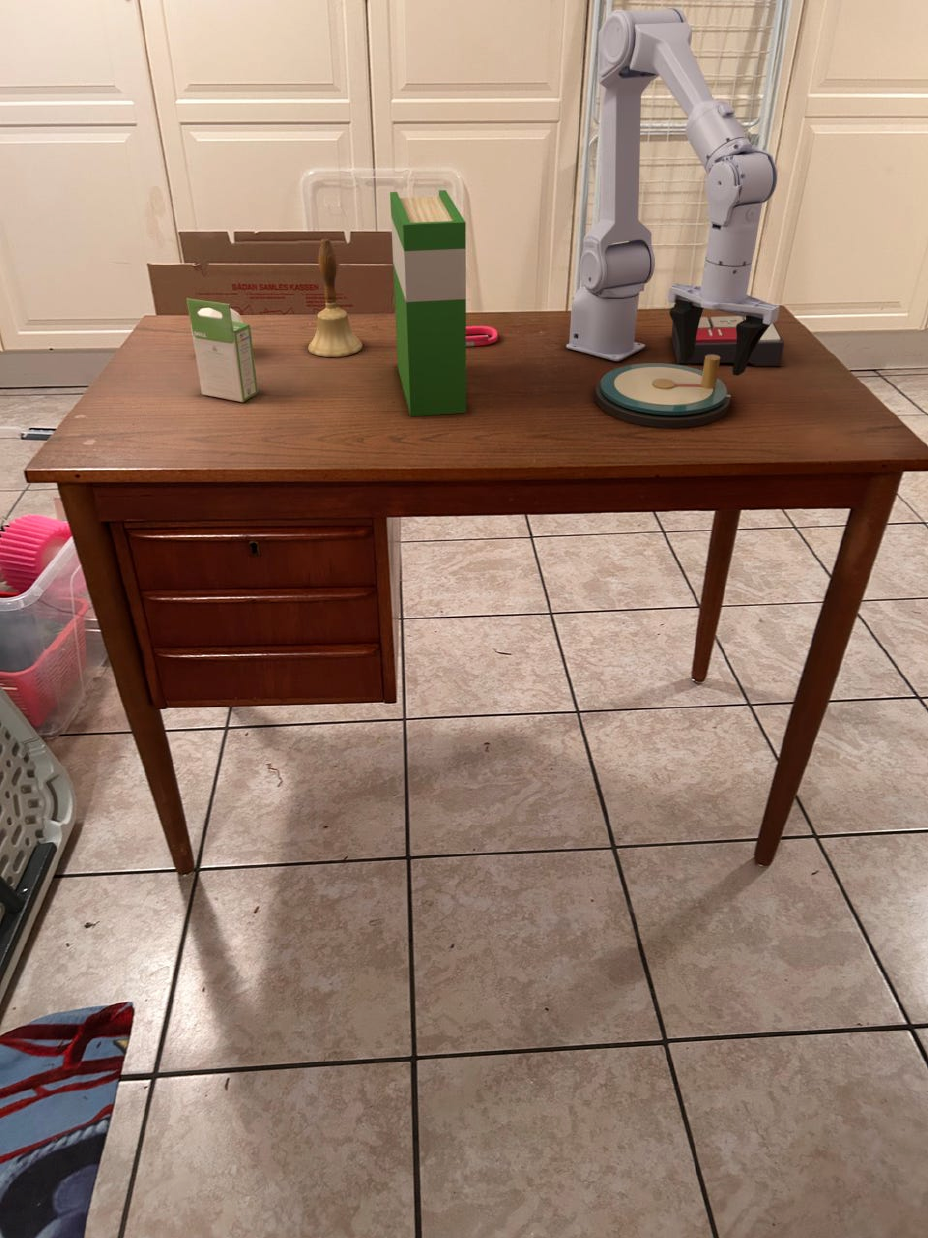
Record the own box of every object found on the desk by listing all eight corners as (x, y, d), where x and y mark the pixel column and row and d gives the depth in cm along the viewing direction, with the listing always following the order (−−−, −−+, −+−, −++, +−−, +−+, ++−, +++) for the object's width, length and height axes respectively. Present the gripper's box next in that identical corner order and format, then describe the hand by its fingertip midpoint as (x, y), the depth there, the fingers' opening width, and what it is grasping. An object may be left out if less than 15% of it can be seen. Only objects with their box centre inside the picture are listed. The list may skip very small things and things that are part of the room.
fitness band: (448, 347, 147) (448, 338, 146) (443, 335, 152) (443, 325, 151) (500, 345, 148) (500, 335, 147) (494, 332, 152) (494, 322, 152)
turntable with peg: (605, 414, 123) (608, 379, 120) (596, 365, 137) (599, 333, 134) (736, 416, 122) (743, 381, 120) (715, 367, 136) (720, 335, 133)
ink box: (260, 393, 132) (247, 295, 125) (243, 404, 129) (228, 304, 122) (219, 385, 135) (203, 289, 127) (201, 395, 132) (184, 297, 124)
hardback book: (397, 367, 140) (390, 191, 126) (447, 364, 141) (445, 189, 127) (410, 416, 126) (403, 224, 112) (466, 412, 127) (465, 222, 113)
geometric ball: (220, 368, 148) (217, 316, 148) (258, 357, 143) (255, 304, 144) (181, 356, 141) (178, 303, 141) (220, 345, 137) (217, 290, 137)
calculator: (672, 315, 148) (772, 312, 146) (670, 342, 150) (768, 340, 149) (679, 339, 139) (785, 337, 137) (677, 368, 141) (781, 366, 140)
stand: (569, 403, 129) (569, 395, 129) (638, 366, 141) (639, 357, 140) (687, 440, 120) (689, 431, 119) (752, 396, 131) (753, 387, 130)
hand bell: (298, 353, 145) (286, 243, 136) (325, 335, 151) (315, 229, 142) (346, 360, 142) (338, 249, 133) (371, 342, 149) (365, 235, 139)
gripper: (660, 256, 120) (648, 361, 128) (768, 278, 112) (748, 388, 120) (689, 244, 124) (675, 347, 132) (794, 265, 117) (773, 372, 124)
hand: (712, 366), depth 126 cm, fingers open, 7 cm apart
